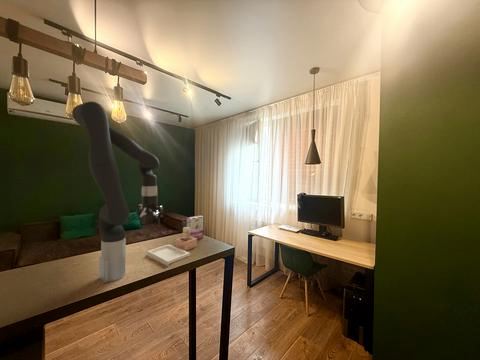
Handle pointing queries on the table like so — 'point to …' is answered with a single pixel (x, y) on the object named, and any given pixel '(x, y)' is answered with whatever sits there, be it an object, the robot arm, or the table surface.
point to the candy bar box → (196, 226)
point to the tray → (167, 254)
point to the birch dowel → (186, 233)
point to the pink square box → (186, 243)
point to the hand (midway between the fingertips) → (150, 224)
